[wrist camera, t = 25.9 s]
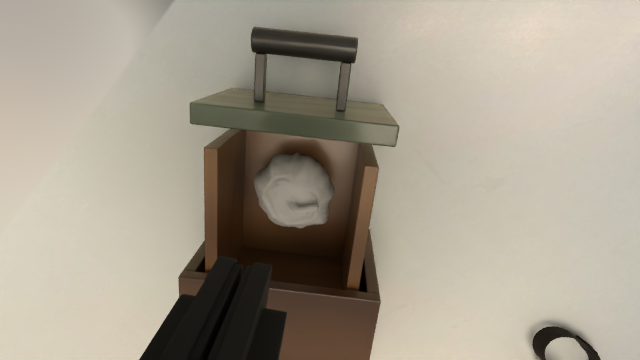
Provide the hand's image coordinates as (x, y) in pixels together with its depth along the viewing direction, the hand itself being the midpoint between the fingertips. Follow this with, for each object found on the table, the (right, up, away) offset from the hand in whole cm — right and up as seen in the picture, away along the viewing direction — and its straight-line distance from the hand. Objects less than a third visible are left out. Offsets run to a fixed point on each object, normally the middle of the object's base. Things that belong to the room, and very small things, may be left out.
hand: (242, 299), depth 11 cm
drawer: (+1, +6, +17) cm, 18 cm away
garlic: (+1, +4, +17) cm, 17 cm away
